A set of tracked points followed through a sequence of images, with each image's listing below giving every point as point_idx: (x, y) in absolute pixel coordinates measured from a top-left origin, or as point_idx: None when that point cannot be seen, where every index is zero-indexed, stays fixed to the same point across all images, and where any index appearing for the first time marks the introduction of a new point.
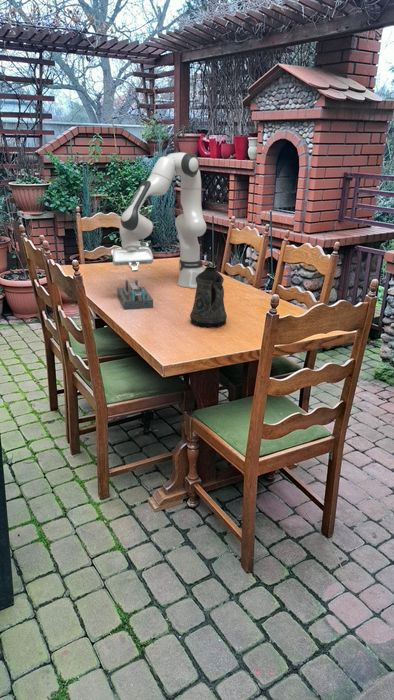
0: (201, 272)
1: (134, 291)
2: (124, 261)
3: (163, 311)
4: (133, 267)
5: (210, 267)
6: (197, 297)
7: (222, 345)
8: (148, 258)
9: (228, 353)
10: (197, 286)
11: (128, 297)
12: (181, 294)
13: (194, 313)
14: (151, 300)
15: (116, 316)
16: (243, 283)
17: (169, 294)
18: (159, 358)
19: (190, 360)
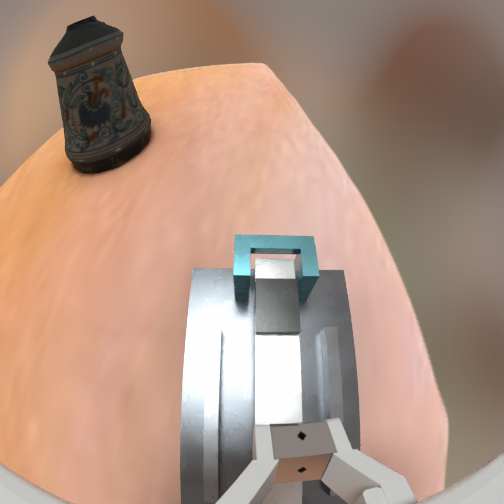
0: (92, 31)
1: (296, 281)
2: (485, 466)
3: (173, 234)
4: (324, 447)
5: (70, 26)
6: (129, 74)
7: (164, 82)
8: (2, 493)
9: (173, 71)
10: (119, 54)
11: (321, 332)
12: (29, 440)
13: (143, 110)
14: (201, 269)
15: (356, 219)
16: None
17: (69, 469)
18: (268, 70)
19: (230, 64)
